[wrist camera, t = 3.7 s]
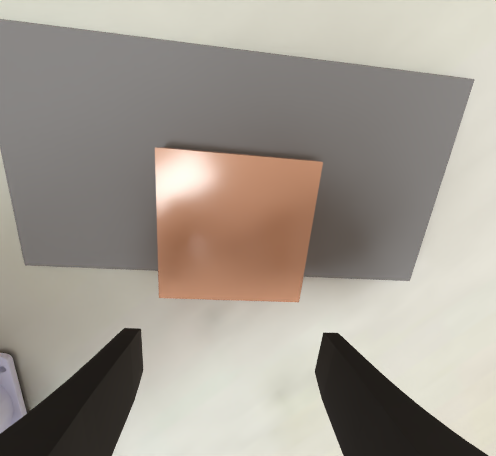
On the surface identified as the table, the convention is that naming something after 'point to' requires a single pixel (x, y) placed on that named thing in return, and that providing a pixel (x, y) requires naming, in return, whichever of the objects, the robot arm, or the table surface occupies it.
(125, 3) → the table surface
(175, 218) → the peach square slab
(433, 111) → the rubber mat
